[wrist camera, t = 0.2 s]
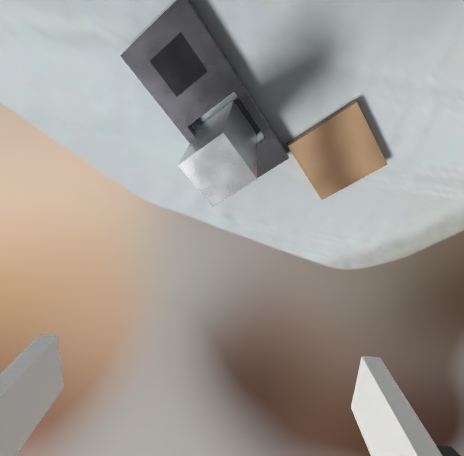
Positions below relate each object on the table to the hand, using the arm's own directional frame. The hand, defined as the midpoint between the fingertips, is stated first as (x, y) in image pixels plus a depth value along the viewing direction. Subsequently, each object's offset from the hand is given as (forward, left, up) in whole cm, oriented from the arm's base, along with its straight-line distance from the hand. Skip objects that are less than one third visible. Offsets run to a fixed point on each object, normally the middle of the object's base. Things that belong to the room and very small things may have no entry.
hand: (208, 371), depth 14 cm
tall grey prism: (-1, -3, -27) cm, 27 cm away
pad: (-9, +6, -27) cm, 29 cm away
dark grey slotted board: (-1, -6, -27) cm, 28 cm away
